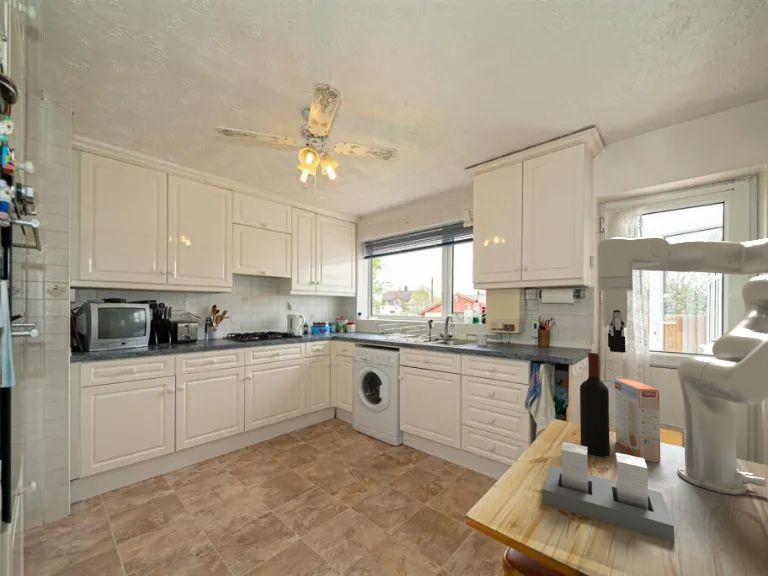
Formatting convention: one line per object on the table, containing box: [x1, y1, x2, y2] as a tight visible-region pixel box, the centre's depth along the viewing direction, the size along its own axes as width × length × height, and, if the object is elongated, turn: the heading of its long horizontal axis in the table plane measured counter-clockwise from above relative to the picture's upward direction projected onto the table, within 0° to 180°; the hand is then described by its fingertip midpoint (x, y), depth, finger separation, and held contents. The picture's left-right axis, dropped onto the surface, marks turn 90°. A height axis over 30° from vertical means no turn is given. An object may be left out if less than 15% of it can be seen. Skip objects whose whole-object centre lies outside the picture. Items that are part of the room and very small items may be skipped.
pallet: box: [543, 465, 675, 543], centre depth 73 cm, size 22×13×4 cm, turn 58°
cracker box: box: [614, 378, 661, 463], centre depth 102 cm, size 14×6×21 cm, turn 168°
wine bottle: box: [579, 352, 611, 458], centre depth 102 cm, size 8×8×30 cm
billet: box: [561, 441, 589, 494], centre depth 76 cm, size 5×5×11 cm
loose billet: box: [615, 452, 649, 510], centre depth 70 cm, size 5×5×11 cm
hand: (616, 349), depth 87 cm, fingers open, 9 cm apart
